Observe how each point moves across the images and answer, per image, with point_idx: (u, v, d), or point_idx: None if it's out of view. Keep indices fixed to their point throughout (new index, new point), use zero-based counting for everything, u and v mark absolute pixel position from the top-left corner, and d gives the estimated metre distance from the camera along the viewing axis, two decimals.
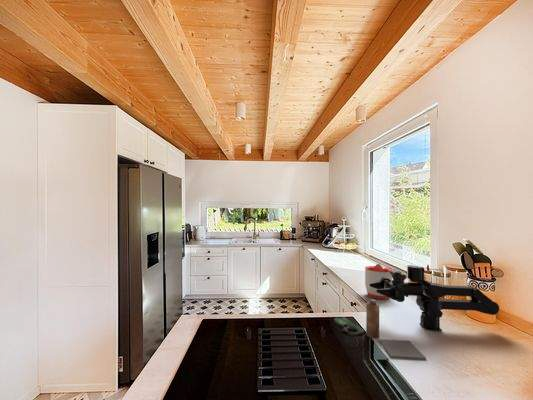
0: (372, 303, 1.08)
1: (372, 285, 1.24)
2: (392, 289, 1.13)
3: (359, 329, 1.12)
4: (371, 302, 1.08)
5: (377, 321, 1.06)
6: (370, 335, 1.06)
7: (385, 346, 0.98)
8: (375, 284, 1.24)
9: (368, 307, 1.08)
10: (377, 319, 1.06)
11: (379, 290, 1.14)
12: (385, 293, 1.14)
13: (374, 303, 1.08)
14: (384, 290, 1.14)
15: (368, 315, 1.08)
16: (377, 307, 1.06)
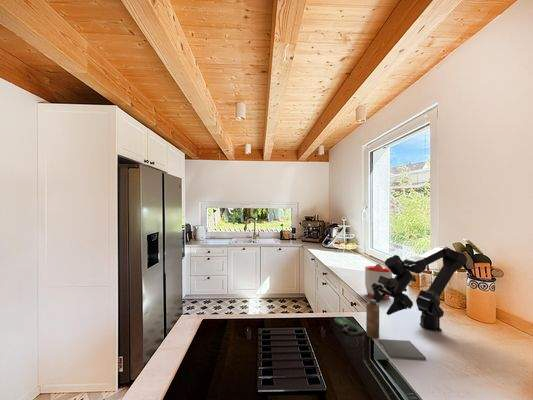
0: (372, 303, 1.08)
1: None
2: (397, 302, 1.04)
3: (359, 329, 1.12)
4: (371, 302, 1.08)
5: (377, 321, 1.06)
6: (370, 335, 1.06)
7: (385, 346, 0.98)
8: None
9: (368, 307, 1.08)
10: (377, 319, 1.06)
11: (389, 312, 1.05)
12: (395, 309, 1.05)
13: (374, 303, 1.08)
14: (392, 308, 1.05)
15: (368, 315, 1.08)
16: (377, 307, 1.06)
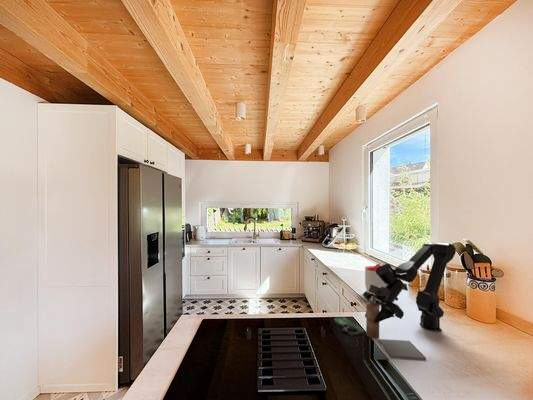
0: (372, 303, 1.08)
1: None
2: (384, 310, 1.05)
3: (359, 329, 1.12)
4: (371, 302, 1.08)
5: None
6: (370, 335, 1.06)
7: (385, 346, 0.98)
8: None
9: (368, 307, 1.08)
10: None
11: (376, 320, 1.05)
12: (382, 318, 1.05)
13: (374, 303, 1.08)
14: (379, 316, 1.05)
15: (368, 315, 1.08)
16: (377, 307, 1.06)
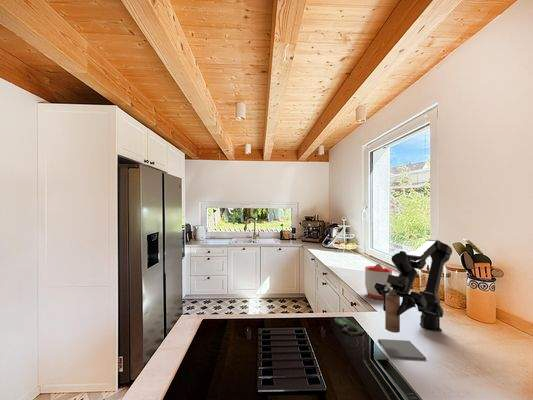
0: (393, 294, 0.99)
1: None
2: (407, 301, 0.98)
3: (359, 329, 1.12)
4: (392, 293, 1.00)
5: None
6: (392, 329, 0.98)
7: (385, 346, 0.98)
8: None
9: (389, 299, 0.99)
10: None
11: (399, 312, 0.97)
12: (404, 309, 0.98)
13: (395, 294, 0.99)
14: (402, 308, 0.97)
15: (389, 308, 0.99)
16: (399, 298, 0.99)
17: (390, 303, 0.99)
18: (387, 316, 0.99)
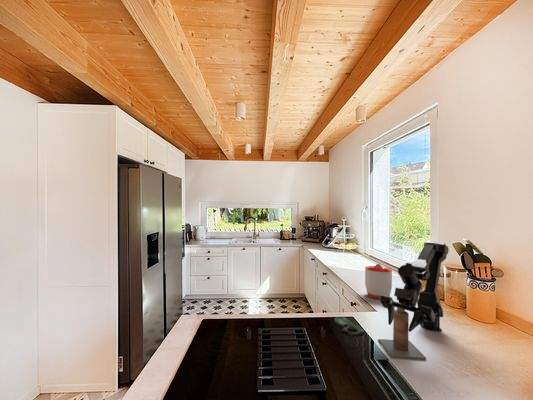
0: (402, 312, 0.96)
1: (391, 321, 1.00)
2: (419, 316, 0.95)
3: (359, 329, 1.12)
4: (401, 311, 0.97)
5: None
6: (401, 348, 0.95)
7: (385, 346, 0.98)
8: (391, 317, 1.01)
9: (399, 317, 0.96)
10: None
11: (411, 328, 0.94)
12: (415, 324, 0.95)
13: (404, 312, 0.97)
14: (414, 323, 0.94)
15: (399, 326, 0.96)
16: (408, 316, 0.96)
17: (399, 321, 0.96)
18: (396, 334, 0.96)
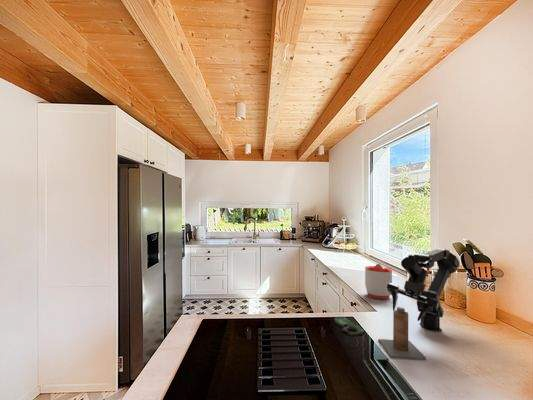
0: (402, 312, 0.97)
1: (394, 307, 1.09)
2: (427, 307, 1.03)
3: (359, 329, 1.12)
4: (400, 311, 0.97)
5: None
6: (401, 348, 0.95)
7: (385, 346, 0.98)
8: (395, 304, 1.09)
9: (398, 317, 0.96)
10: None
11: (419, 318, 1.03)
12: (423, 314, 1.04)
13: (403, 311, 0.97)
14: (423, 314, 1.03)
15: (398, 326, 0.96)
16: (407, 316, 0.96)
17: (399, 321, 0.96)
18: (396, 334, 0.97)
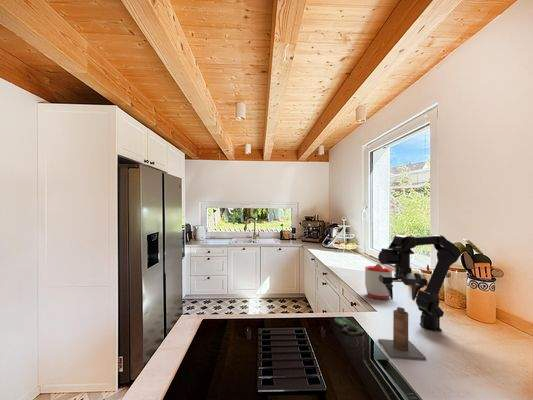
0: (402, 312, 0.97)
1: None
2: None
3: (359, 329, 1.12)
4: (400, 311, 0.97)
5: None
6: (401, 348, 0.95)
7: (385, 346, 0.98)
8: None
9: (398, 317, 0.96)
10: None
11: None
12: None
13: (404, 311, 0.97)
14: None
15: (398, 326, 0.96)
16: (407, 316, 0.96)
17: (399, 321, 0.96)
18: (396, 334, 0.97)
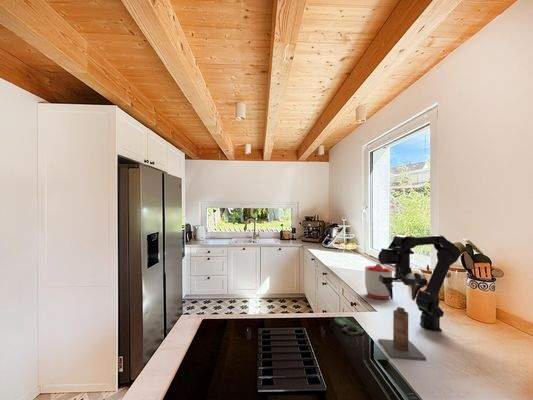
0: (402, 312, 0.97)
1: None
2: None
3: (359, 329, 1.11)
4: (400, 311, 0.97)
5: None
6: (401, 348, 0.95)
7: (385, 346, 0.98)
8: None
9: (398, 317, 0.96)
10: None
11: None
12: None
13: (403, 311, 0.97)
14: None
15: (398, 326, 0.96)
16: (407, 316, 0.96)
17: (399, 321, 0.96)
18: (396, 334, 0.97)
